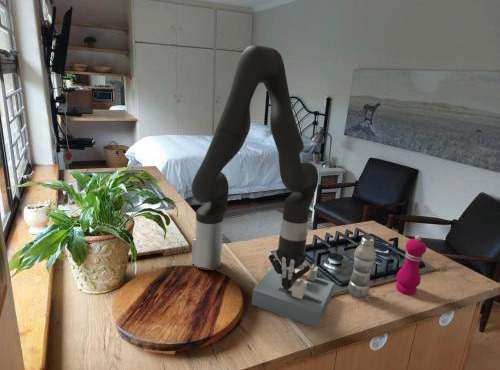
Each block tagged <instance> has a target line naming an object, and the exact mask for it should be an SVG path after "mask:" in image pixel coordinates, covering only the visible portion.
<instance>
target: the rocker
mask: <svg viewBox="0 0 500 370" xmlns="http://www.w3.org/2000/svg"><path fill="white" fill-rule="evenodd" d="M301 269H302V268H296V270H295V273H297V272H298V271H299V270H301ZM310 275H311V269H310V270H309V271H308V272H307V273H305V274H304V275H303V276H301V277H300V278H299V279H301V278H302V279H308V278H309V276H310ZM279 277H280V279H282V275H281V274H280V275H279Z"/></svg>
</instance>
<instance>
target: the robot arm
mask: <svg viewBox="0 0 500 370" xmlns="http://www.w3.org/2000/svg"><path fill="white" fill-rule="evenodd" d="M259 84H263V85H264V87H265V89H266V92H267V94H268V96H269V101H270V114H269V115H270V119H269V125H270V132H271V135H272V139H273V141H274V145H275V148H276V150H277V152H278V164H279V165H278V167H279V174H280V180H281V183H282V184H283V185H284V187H285V188H286V189H287V190H289V192H291V193H290V195H289V196H287V197H286V199H285V200H284V203H283V210H282V219H281V223H280V227H279V229H280V230H279V239H278V245H277V246H278V248H277V249H276V251H274V252H271V254H269V255H268V260H269V262H270V263H271V265H272V267H274V269H275V270H276V272H277V274H281V275H282V287H283V289H285V290H289V289H290V288H291V287H292V284H293V279H295V280H297V279H299V278H300V277H301V276H303V275H304V274H305V273H307V272H308V271H309V270H310V269H311V267H312V263H311V262H310V263H309V261H307V260H306V259H307V256H306V248H307V247H306V245H307V239H308V234H309V233H308V232H309V231H308V230H309V216H310V210H311V205H312V201H313V200H314V197H315V193H316V190H317V188H318V185H319V184H318V183H319V171H318V168H317V167H316V166H315V164H314V163H311V162H309V161H303V162H301V155H300V154H301V153H302V152H303V151H304V148H305V145H304V142H303V137H302V135H301V132H300V129H299V127H298V123H297V120H296V118H295V117H296V116H295V114H294V110H293V105H292V101H291V96H290V90H289V85H288V80H287V74H286V69H285V63H284V59H283V57H282V55H281V53H280V52H279V51H278V50H276V49H275V48H272V47H269V46H263V45H258V44H252V45H249V46H248V47H246V48H245V49H244V50H243V52H242V53H241V55H240V58H239V60H238V63H237V66H236V69H235V73H234V77H233V80H232V85H231V88H230V90H229V91H230V92H229V94H228V98H227V100H226V102H225V105H224V107H223V111H222V114H221V116H220V118H219V120H218V122H217V125H216V128H215V130H214V133H213V135H212V136H213V137H212V139H211V142H210V144H209V146H208V149H207V151H206V153H205V155H204V158H203V160H202V163H201V164H200V166H199V168H198V170H197V172H196V173H195V175H194V178H193V180H192V183H191V194H192V196H193V199H194V200H195V201H196V202H199V203H203V204H202V205H201V206H200V207H198V209H196V213H195V232H194V233H195V236H194V238H193V239H192V244H191V245H192V247H191V248H192V249H191V250H192V251H191V264H192V265H193V264H194V265H193V266H194V267H195V266H198V267H204V268H210V269H214V270H218V269H219V268H220V267H221V265H222V251H223V250H222V247H223V232H224V217H225V214H226V212H227V207H228V199H229V189H230V187H229V180H228V178H227V177H226V176H227V175H225V174H224V172H222V170H223V169H224V168H225V167H226V166H227V165H228V164H229V163H230V162H231V160H233V159H234V158H235V156H237V155H238V153H239V152H240V151H241V149H242V147H244V144H245V141H246V140H247V137H248V136H249V133H250V128H251V108H250V107H251V101H252V99H253V96H254V94H255V91H256V89H257V88H258V86H259ZM279 260H280V262H281V263H280V262H279ZM281 264H282V265H281ZM301 265H302V266H301ZM300 266H301V268H300V269H301V270H299V271H298V272H297V273H295V270H296V269H298V268H299V267H300ZM214 270H213V271H214Z"/></svg>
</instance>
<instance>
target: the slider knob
mask: <svg viewBox="0 0 500 370" xmlns="http://www.w3.org/2000/svg"><path fill="white" fill-rule="evenodd" d="M306 287H307V281H304V280H303V279H302V278H301V279H297V280H296V281H295V283H294V284H293V289H292V296H294V297H297V298H300V299H302V298H303V296H304V294H305V293H306Z"/></svg>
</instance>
